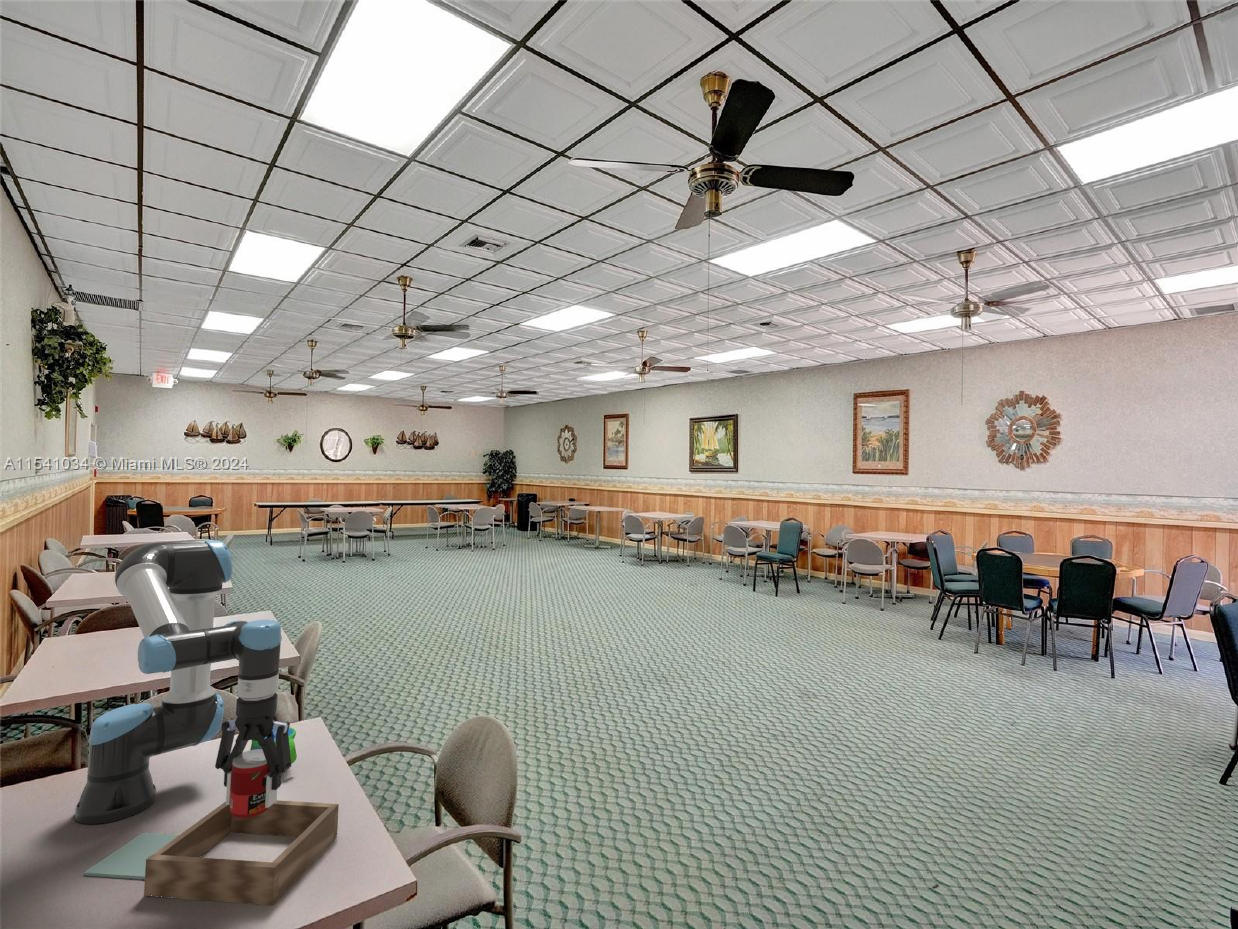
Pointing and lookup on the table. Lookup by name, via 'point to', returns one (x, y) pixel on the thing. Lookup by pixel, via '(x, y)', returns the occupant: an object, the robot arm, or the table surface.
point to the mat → (131, 857)
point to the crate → (240, 880)
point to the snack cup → (291, 743)
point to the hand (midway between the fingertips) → (251, 802)
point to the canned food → (249, 784)
